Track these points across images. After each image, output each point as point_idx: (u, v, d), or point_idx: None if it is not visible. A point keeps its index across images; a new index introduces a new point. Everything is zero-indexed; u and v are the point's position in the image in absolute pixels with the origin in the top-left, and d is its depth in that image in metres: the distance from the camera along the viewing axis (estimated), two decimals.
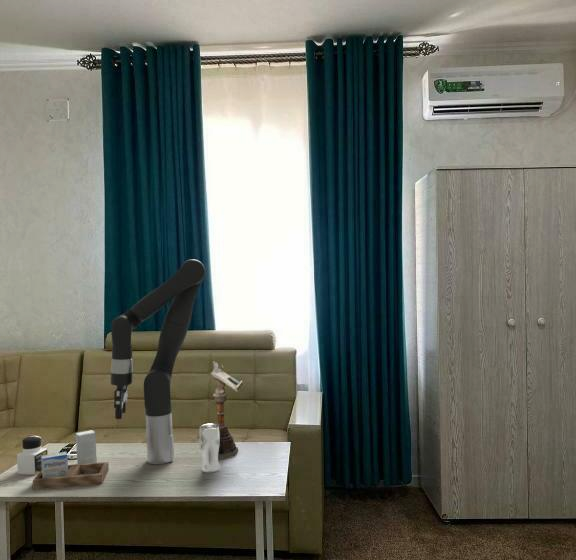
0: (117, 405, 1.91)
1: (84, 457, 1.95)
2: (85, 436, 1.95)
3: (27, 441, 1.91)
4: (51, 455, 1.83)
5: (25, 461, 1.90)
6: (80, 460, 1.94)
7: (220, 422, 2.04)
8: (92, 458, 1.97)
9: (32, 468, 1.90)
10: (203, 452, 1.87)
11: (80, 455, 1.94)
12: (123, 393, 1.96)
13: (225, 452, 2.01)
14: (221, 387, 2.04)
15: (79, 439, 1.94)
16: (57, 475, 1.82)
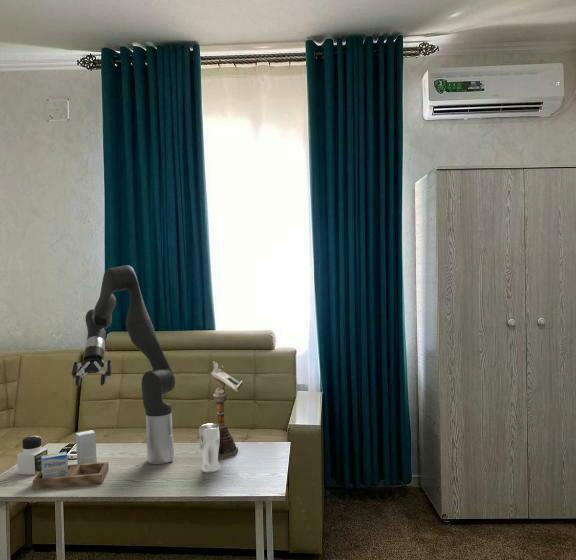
0: None
1: (84, 457, 1.95)
2: (85, 436, 1.95)
3: (27, 441, 1.91)
4: (51, 455, 1.83)
5: (25, 461, 1.90)
6: (80, 460, 1.94)
7: (220, 422, 2.04)
8: (92, 458, 1.97)
9: (32, 468, 1.90)
10: (203, 452, 1.87)
11: (80, 455, 1.94)
12: None
13: (225, 452, 2.01)
14: (221, 387, 2.04)
15: (79, 439, 1.94)
16: (57, 475, 1.82)
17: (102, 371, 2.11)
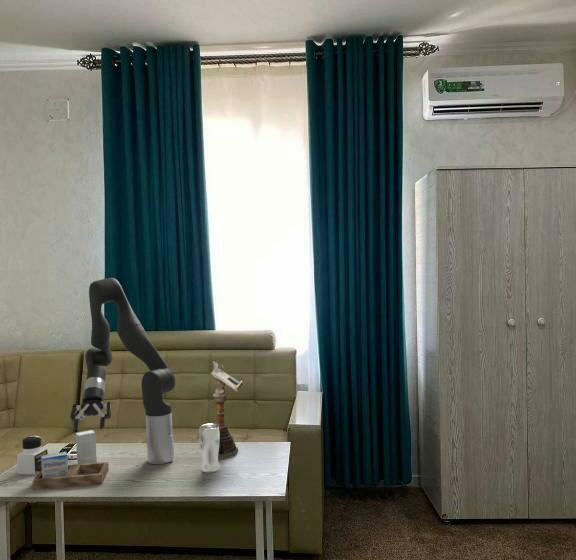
0: None
1: (84, 457, 1.95)
2: (85, 436, 1.95)
3: (27, 441, 1.91)
4: (51, 455, 1.83)
5: (25, 461, 1.90)
6: (80, 460, 1.94)
7: (220, 422, 2.04)
8: (92, 458, 1.97)
9: (32, 468, 1.90)
10: (203, 452, 1.87)
11: (80, 455, 1.94)
12: None
13: (225, 452, 2.01)
14: (221, 387, 2.04)
15: (79, 439, 1.94)
16: (57, 475, 1.82)
17: (101, 414, 2.06)
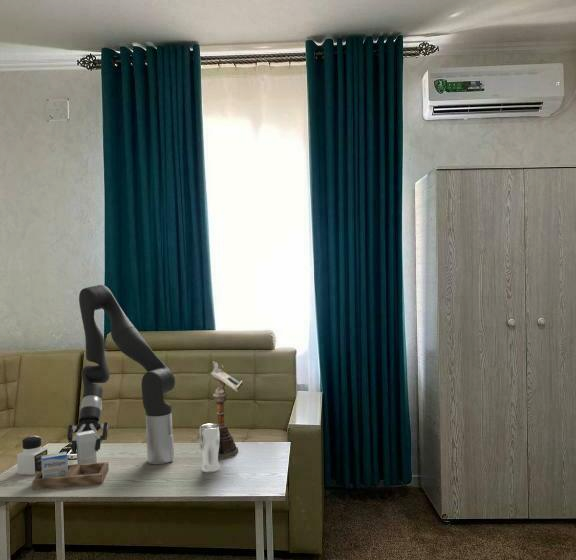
0: None
1: (84, 457, 1.95)
2: (85, 436, 1.95)
3: (27, 441, 1.91)
4: (51, 455, 1.83)
5: (25, 461, 1.90)
6: (80, 460, 1.94)
7: (220, 422, 2.04)
8: (92, 458, 1.97)
9: (32, 468, 1.90)
10: (203, 452, 1.87)
11: (80, 455, 1.94)
12: None
13: (225, 452, 2.01)
14: (221, 387, 2.04)
15: (79, 439, 1.94)
16: (57, 475, 1.82)
17: (97, 435, 1.99)
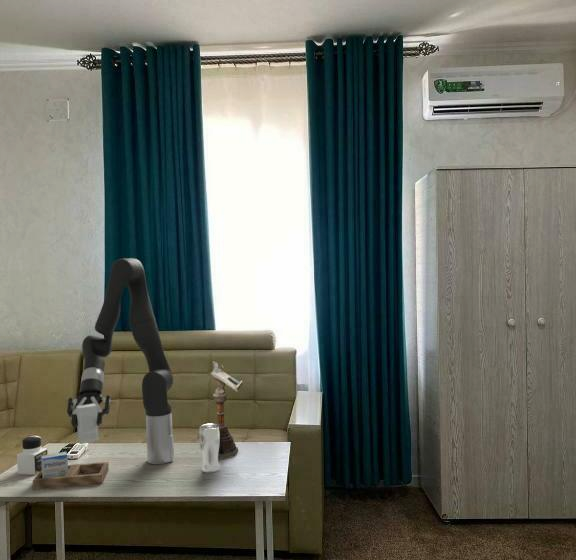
0: None
1: (85, 431, 1.83)
2: (85, 409, 1.83)
3: (27, 441, 1.91)
4: (51, 455, 1.83)
5: (25, 461, 1.90)
6: (81, 434, 1.82)
7: (220, 422, 2.04)
8: (94, 432, 1.84)
9: (32, 468, 1.90)
10: (203, 452, 1.87)
11: (81, 429, 1.82)
12: None
13: (225, 452, 2.01)
14: (221, 387, 2.04)
15: (79, 412, 1.82)
16: (57, 475, 1.82)
17: (99, 409, 1.87)
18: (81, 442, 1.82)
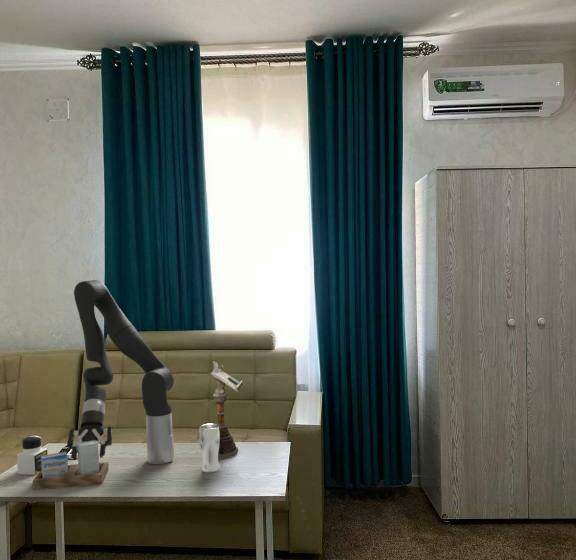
0: None
1: (86, 469, 1.83)
2: (87, 447, 1.83)
3: (27, 441, 1.91)
4: (51, 455, 1.83)
5: (25, 461, 1.90)
6: (82, 472, 1.82)
7: (220, 422, 2.04)
8: (95, 470, 1.84)
9: (32, 468, 1.90)
10: (203, 452, 1.87)
11: (82, 467, 1.82)
12: None
13: (225, 452, 2.01)
14: (221, 387, 2.04)
15: (81, 450, 1.82)
16: (57, 475, 1.82)
17: (101, 440, 1.87)
18: None
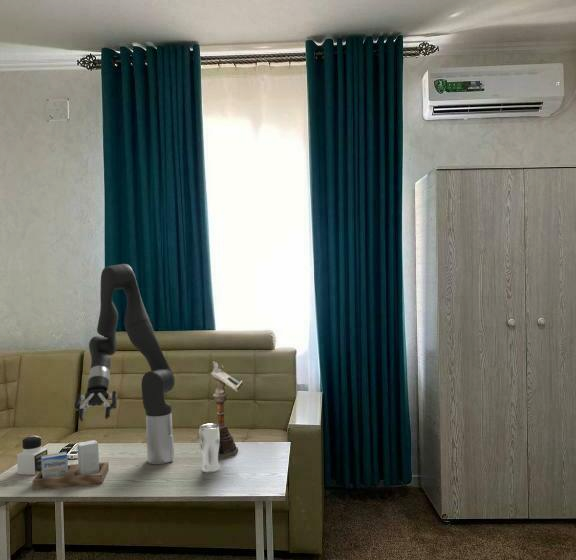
0: None
1: (86, 469, 1.83)
2: (87, 447, 1.83)
3: (27, 441, 1.91)
4: (51, 455, 1.83)
5: (25, 461, 1.90)
6: (82, 472, 1.82)
7: (220, 422, 2.04)
8: (95, 470, 1.84)
9: (32, 468, 1.90)
10: (203, 452, 1.87)
11: (82, 467, 1.82)
12: None
13: (225, 452, 2.01)
14: (221, 387, 2.04)
15: (81, 450, 1.82)
16: (57, 475, 1.82)
17: (107, 403, 1.99)
18: None
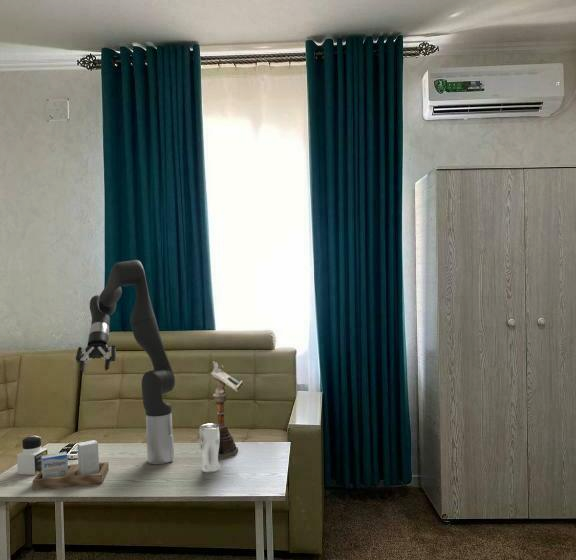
0: None
1: (86, 469, 1.83)
2: (87, 447, 1.83)
3: (27, 441, 1.91)
4: (51, 455, 1.83)
5: (25, 461, 1.90)
6: (82, 472, 1.82)
7: (220, 422, 2.04)
8: (95, 470, 1.84)
9: (32, 468, 1.90)
10: (203, 452, 1.87)
11: (82, 467, 1.82)
12: None
13: (225, 452, 2.01)
14: (221, 387, 2.04)
15: (81, 450, 1.82)
16: (57, 475, 1.82)
17: (106, 356, 2.10)
18: None
